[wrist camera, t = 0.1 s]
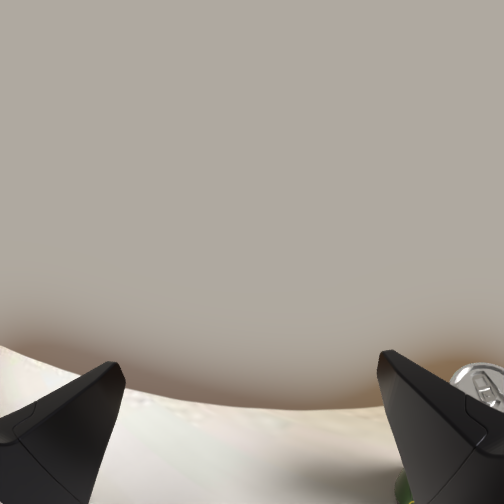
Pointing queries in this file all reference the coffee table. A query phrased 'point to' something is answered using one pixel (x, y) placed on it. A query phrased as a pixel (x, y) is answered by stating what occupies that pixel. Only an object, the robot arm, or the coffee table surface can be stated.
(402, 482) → the beer can
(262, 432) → the coffee table surface
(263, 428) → the coffee table surface
